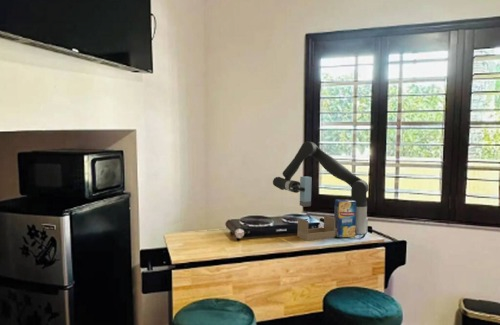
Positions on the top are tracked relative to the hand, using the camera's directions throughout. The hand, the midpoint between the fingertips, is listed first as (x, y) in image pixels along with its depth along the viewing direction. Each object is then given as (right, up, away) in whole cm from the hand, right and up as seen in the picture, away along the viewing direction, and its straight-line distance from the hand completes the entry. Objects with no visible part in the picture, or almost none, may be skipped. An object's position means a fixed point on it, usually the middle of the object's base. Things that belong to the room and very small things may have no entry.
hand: (308, 189), depth 232 cm
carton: (+4, -28, -7) cm, 29 cm away
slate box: (-1, -10, +3) cm, 11 cm away
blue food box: (+22, -29, -2) cm, 36 cm away
